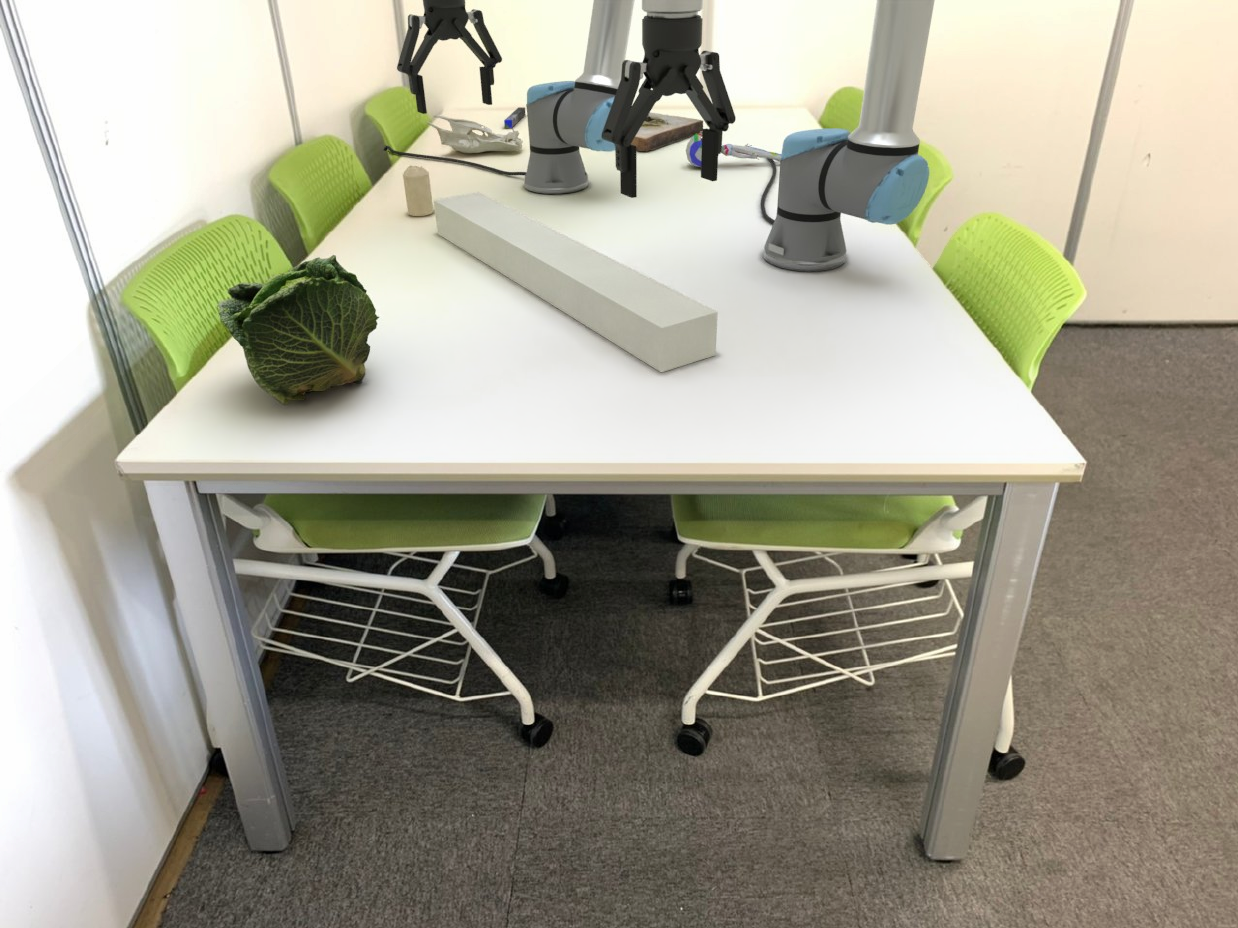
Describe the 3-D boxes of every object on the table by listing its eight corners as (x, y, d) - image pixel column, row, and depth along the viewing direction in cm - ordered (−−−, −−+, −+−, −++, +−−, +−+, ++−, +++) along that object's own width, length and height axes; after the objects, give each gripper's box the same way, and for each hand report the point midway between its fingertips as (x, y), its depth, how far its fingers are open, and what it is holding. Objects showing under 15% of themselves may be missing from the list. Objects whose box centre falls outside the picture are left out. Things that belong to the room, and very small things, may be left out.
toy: (810, 148, 223) (693, 134, 219) (802, 182, 228) (688, 169, 223) (799, 138, 232) (687, 125, 227) (792, 172, 236) (681, 159, 232)
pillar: (525, 107, 285) (511, 120, 268) (525, 114, 286) (511, 128, 269) (518, 107, 285) (503, 120, 268) (518, 114, 286) (504, 128, 270)
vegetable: (300, 411, 136) (210, 300, 128) (407, 340, 137) (324, 225, 129) (292, 446, 117) (186, 319, 110) (414, 364, 119) (318, 232, 111)
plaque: (647, 125, 237) (559, 112, 252) (647, 153, 241) (560, 139, 256) (706, 107, 258) (622, 97, 273) (705, 133, 262) (622, 121, 277)
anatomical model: (438, 112, 249) (525, 110, 245) (443, 146, 254) (528, 145, 250) (420, 123, 236) (511, 122, 233) (426, 159, 241) (515, 158, 238)
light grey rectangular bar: (437, 234, 186) (433, 200, 182) (481, 225, 190) (478, 191, 186) (661, 372, 130) (661, 328, 126) (715, 355, 135) (717, 311, 131)
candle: (438, 210, 199) (432, 164, 194) (425, 217, 195) (419, 170, 189) (416, 208, 201) (410, 162, 195) (403, 215, 196) (396, 168, 191)
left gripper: (383, -12, 151) (401, 119, 163) (514, -21, 163) (522, 103, 174) (367, -15, 157) (385, 113, 168) (495, -23, 168) (504, 97, 179)
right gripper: (604, 24, 103) (608, 209, 114) (768, 9, 114) (757, 178, 125) (570, 19, 108) (577, 196, 119) (730, 4, 119) (723, 167, 131)
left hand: (455, 108), depth 171 cm, fingers open, 13 cm apart
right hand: (669, 187), depth 122 cm, fingers open, 13 cm apart
